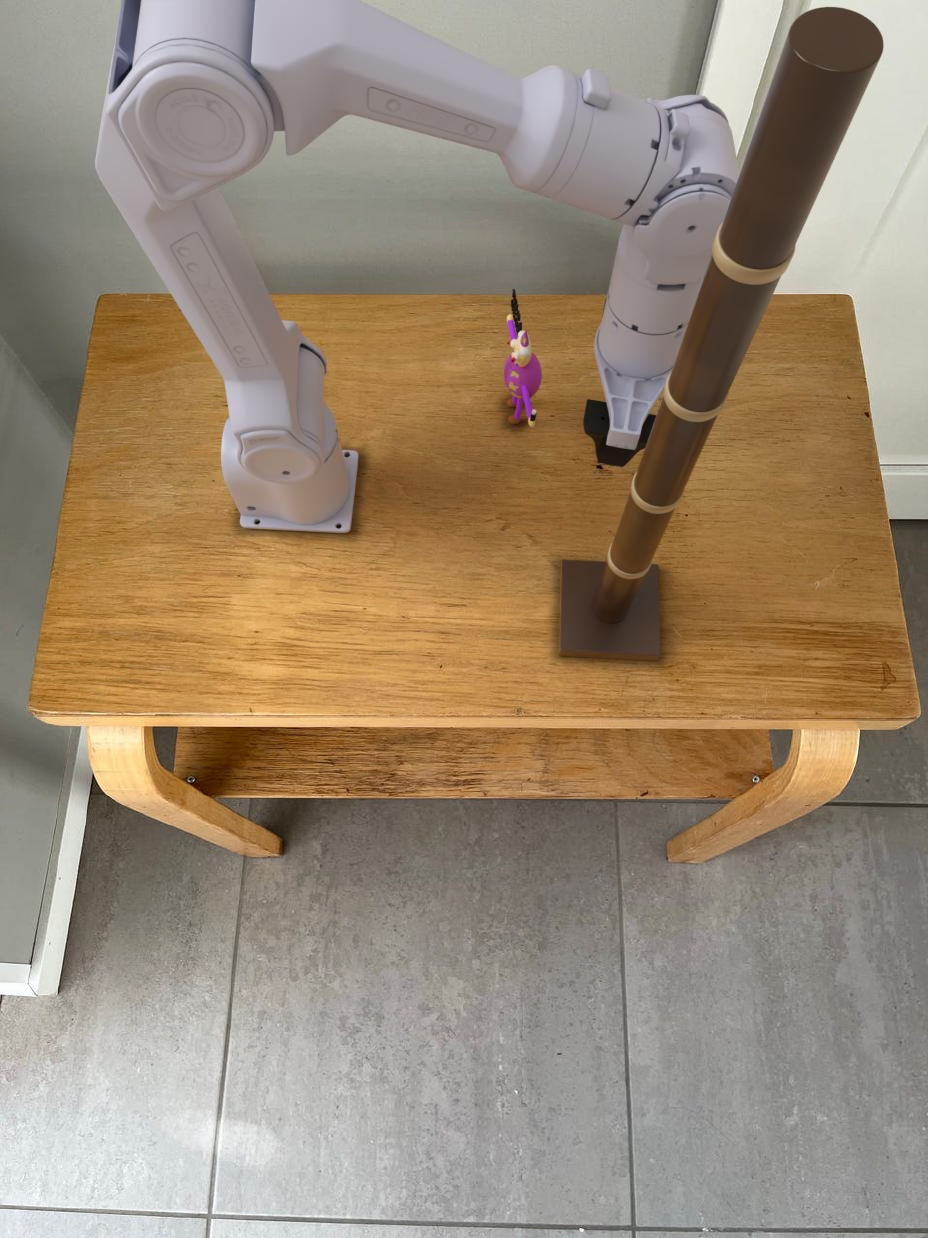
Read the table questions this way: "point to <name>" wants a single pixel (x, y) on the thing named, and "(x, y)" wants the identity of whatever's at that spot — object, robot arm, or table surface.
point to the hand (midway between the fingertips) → (618, 418)
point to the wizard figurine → (521, 368)
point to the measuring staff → (724, 321)
